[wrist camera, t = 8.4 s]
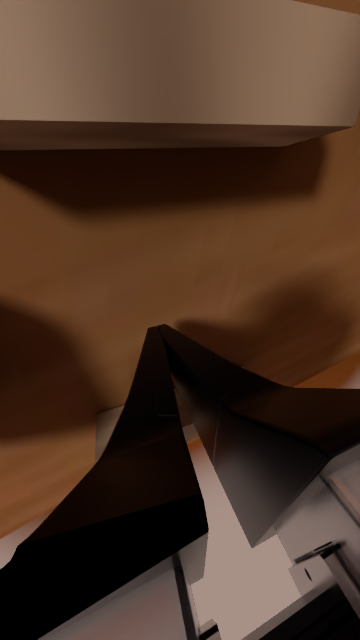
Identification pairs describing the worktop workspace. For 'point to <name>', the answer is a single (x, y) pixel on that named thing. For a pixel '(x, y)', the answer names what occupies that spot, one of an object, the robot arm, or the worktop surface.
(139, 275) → the worktop surface
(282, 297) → the worktop surface
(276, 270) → the worktop surface
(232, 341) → the worktop surface
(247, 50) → the mug dock
